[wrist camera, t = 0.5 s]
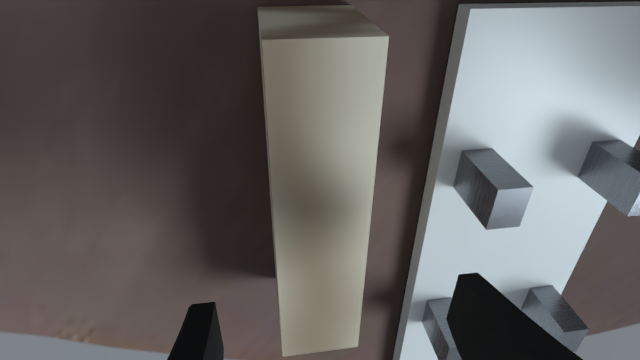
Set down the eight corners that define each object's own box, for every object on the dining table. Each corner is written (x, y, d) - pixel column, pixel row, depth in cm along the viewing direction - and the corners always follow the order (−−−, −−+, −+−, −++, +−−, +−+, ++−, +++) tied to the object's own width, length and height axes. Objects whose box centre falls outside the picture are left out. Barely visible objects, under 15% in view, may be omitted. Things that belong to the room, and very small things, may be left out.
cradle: (681, 0, 17) (793, 22, 14) (520, 348, 30) (556, 404, 27) (458, 3, 16) (519, 28, 12) (391, 366, 29) (411, 428, 25)
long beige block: (350, 3, 15) (388, 36, 11) (337, 269, 23) (357, 346, 19) (257, 5, 15) (261, 39, 11) (275, 275, 22) (282, 356, 18)
